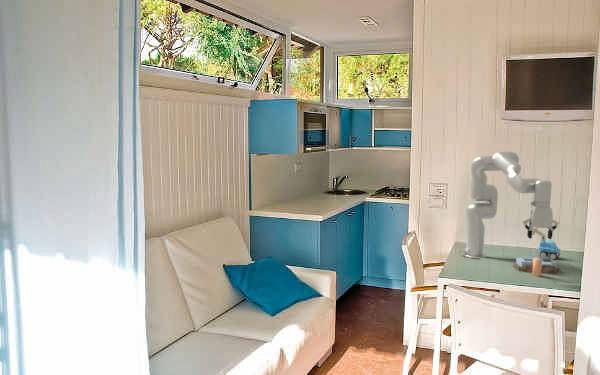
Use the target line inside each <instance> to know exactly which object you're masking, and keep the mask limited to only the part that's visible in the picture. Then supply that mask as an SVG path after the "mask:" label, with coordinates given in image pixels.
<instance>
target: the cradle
mask: <svg viewBox="0 0 600 375" xmlns="http://www.w3.org/2000/svg"><path fill="white" fill-rule="evenodd" d="M512 267H513V268H514V269H515V270H516V271H517V272H519V273H530V274H532V272H533V266H524V268H523V271H521V267H520V266H518V265H517V264H516V262H513V263H512ZM541 274H557V275H558V274H562V273H561V272H560V268H559V267H558V266H557V270H556V267H552V266H542V267H541Z"/></svg>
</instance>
